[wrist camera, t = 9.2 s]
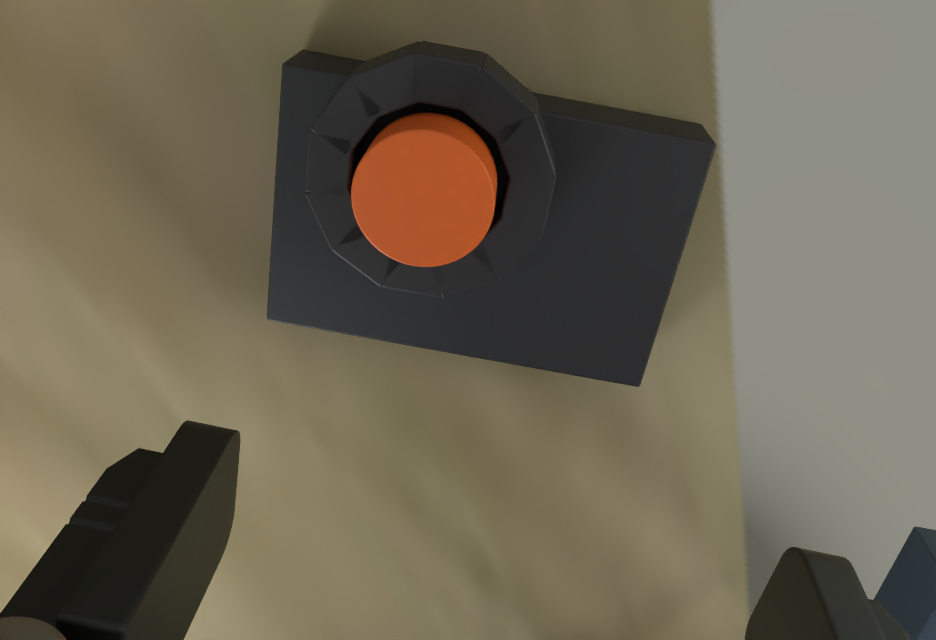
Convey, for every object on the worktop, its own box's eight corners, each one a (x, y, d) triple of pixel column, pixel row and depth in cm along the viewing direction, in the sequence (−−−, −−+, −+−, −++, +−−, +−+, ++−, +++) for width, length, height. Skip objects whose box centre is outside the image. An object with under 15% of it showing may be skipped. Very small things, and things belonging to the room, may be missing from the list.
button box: (632, 353, 28) (647, 420, 25) (284, 290, 28) (248, 348, 24) (715, 81, 24) (748, 114, 20) (304, 4, 24) (264, 24, 20)
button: (484, 252, 23) (481, 279, 21) (356, 229, 23) (343, 254, 21) (509, 125, 21) (507, 144, 20) (370, 100, 21) (358, 116, 20)
